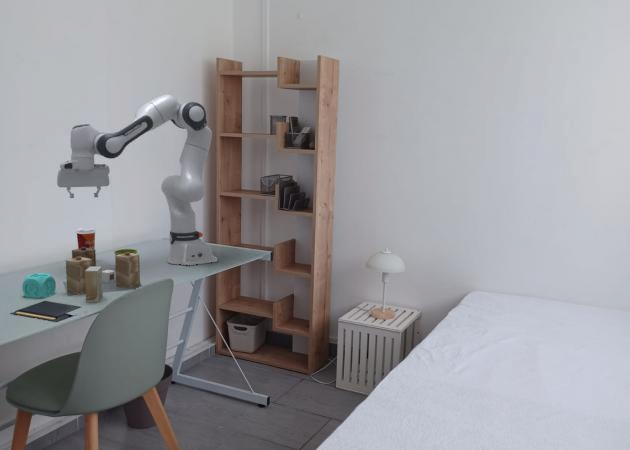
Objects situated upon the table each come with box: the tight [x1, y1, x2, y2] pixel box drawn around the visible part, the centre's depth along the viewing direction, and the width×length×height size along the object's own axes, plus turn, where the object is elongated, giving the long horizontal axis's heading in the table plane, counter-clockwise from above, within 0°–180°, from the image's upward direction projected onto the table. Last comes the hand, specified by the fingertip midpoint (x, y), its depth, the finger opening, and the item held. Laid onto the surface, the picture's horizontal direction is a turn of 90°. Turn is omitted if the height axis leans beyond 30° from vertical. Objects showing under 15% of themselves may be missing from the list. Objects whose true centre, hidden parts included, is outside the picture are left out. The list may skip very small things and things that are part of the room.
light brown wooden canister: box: [65, 256, 92, 296], centre depth 221 cm, size 6×6×13 cm
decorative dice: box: [21, 272, 57, 299], centre depth 216 cm, size 8×8×8 cm
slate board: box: [62, 281, 143, 297], centre depth 231 cm, size 27×20×1 cm
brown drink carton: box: [71, 247, 97, 267], centre depth 241 cm, size 6×6×13 cm
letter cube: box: [102, 269, 116, 283], centre depth 236 cm, size 4×4×4 cm
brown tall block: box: [114, 252, 141, 289], centre depth 230 cm, size 6×6×13 cm
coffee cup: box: [75, 227, 97, 250], centre depth 269 cm, size 8×8×15 cm
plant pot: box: [113, 248, 138, 256], centre depth 256 cm, size 9×9×9 cm
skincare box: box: [85, 266, 104, 303], centre depth 212 cm, size 6×4×12 cm
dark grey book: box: [9, 300, 82, 323], centre depth 201 cm, size 20×2×15 cm
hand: (84, 197), depth 250 cm, fingers open, 8 cm apart
